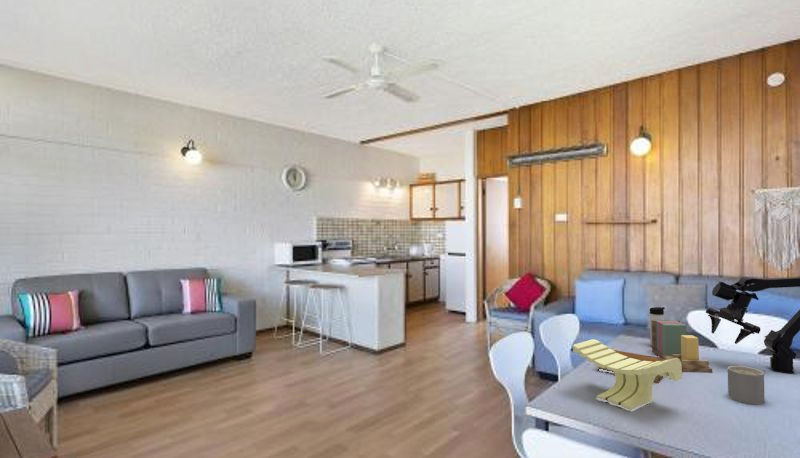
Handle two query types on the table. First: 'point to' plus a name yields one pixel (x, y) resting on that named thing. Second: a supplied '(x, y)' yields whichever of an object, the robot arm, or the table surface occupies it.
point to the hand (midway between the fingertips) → (723, 338)
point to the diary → (642, 358)
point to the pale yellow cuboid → (689, 347)
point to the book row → (669, 337)
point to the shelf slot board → (679, 355)
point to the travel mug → (655, 317)
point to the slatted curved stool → (628, 373)
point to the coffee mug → (746, 384)
